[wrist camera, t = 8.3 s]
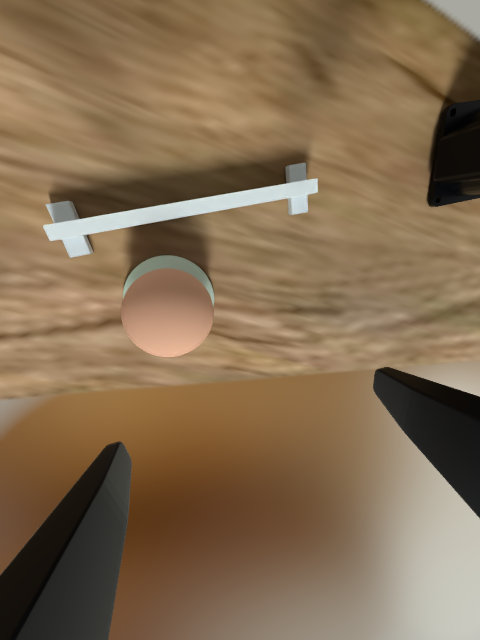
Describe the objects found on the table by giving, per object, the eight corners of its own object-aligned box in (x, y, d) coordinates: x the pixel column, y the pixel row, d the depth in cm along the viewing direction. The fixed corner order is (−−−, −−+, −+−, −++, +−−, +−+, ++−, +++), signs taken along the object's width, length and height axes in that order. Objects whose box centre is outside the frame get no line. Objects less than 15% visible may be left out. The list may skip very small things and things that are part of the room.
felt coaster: (203, 246, 17) (203, 247, 16) (220, 326, 19) (221, 328, 19) (109, 265, 16) (108, 266, 16) (141, 346, 18) (141, 348, 18)
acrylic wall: (301, 164, 16) (316, 157, 14) (303, 212, 17) (318, 211, 16) (50, 205, 14) (31, 202, 12) (74, 256, 15) (59, 261, 13)
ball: (198, 254, 17) (208, 268, 12) (214, 323, 19) (228, 359, 14) (117, 271, 16) (91, 293, 11) (145, 341, 18) (133, 386, 13)
